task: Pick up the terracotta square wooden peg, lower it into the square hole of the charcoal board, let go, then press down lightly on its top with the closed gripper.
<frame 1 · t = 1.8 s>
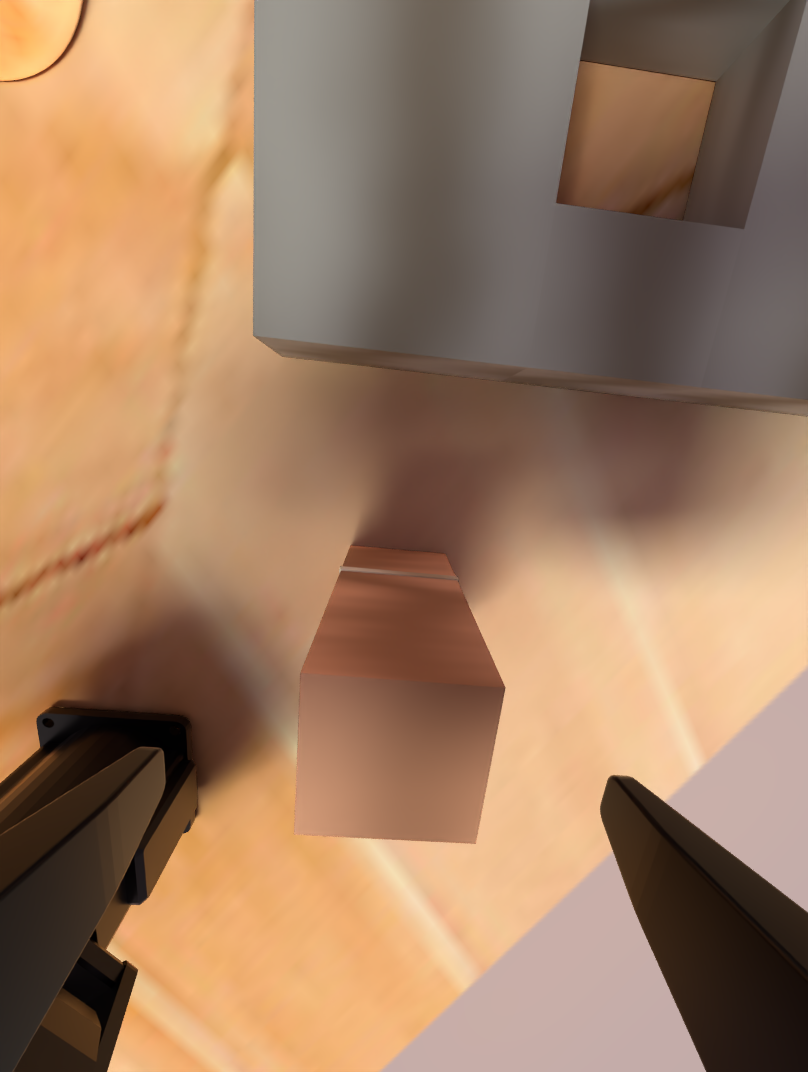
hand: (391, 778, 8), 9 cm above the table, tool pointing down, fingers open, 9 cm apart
board: (614, 170, 13), on the table
peg: (393, 593, 17), on the table
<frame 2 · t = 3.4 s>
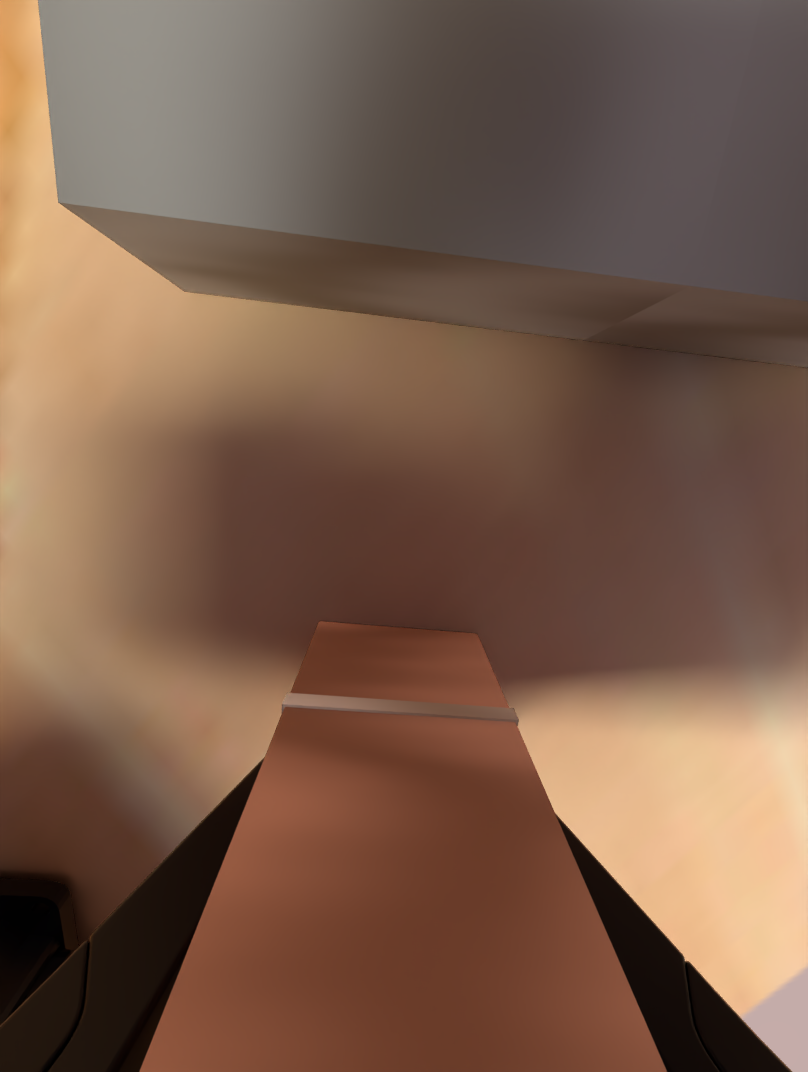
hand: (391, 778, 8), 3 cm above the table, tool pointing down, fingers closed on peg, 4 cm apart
peg: (391, 695, 10), on the table, touching gripper
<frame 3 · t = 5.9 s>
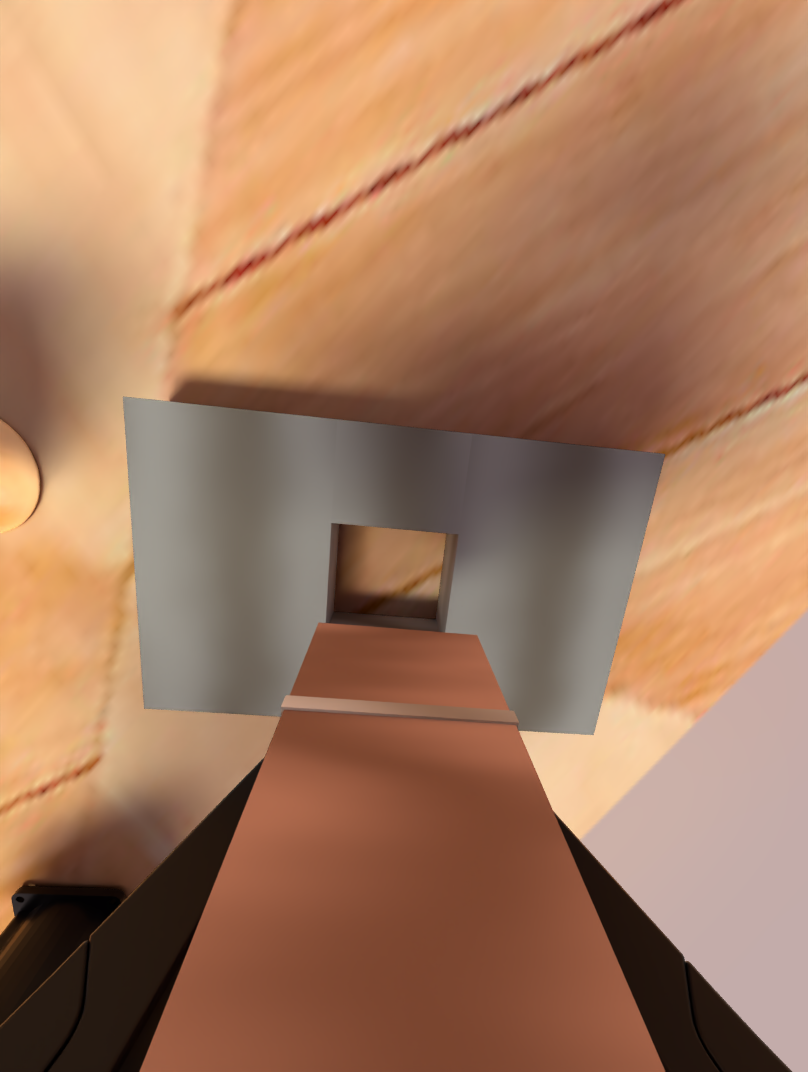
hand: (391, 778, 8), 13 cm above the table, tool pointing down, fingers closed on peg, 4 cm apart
board: (389, 567, 20), on the table
peg: (391, 697, 10), point 10 cm above the table, touching gripper
when the fingers open (4 cm above the table, at t = 8.7 s): peg drops 1 cm, resting in board.
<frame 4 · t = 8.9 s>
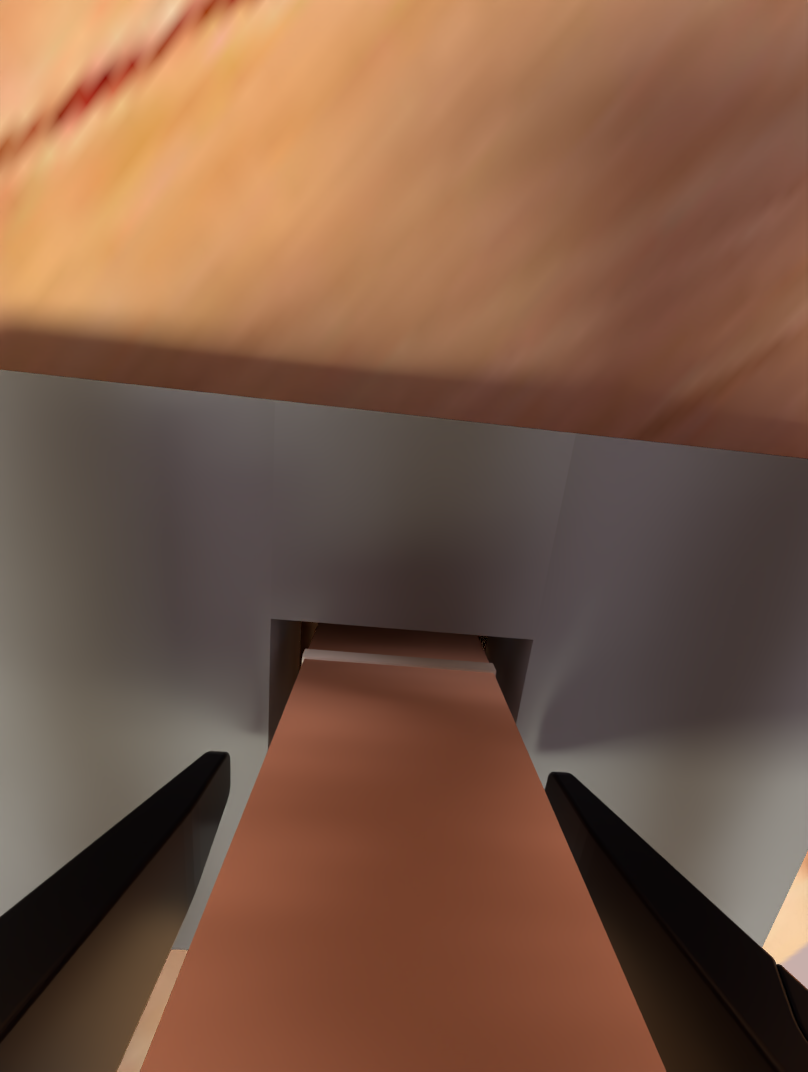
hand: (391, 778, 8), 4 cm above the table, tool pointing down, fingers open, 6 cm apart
board: (391, 663, 12), on the table
peg: (391, 664, 12), resting in board
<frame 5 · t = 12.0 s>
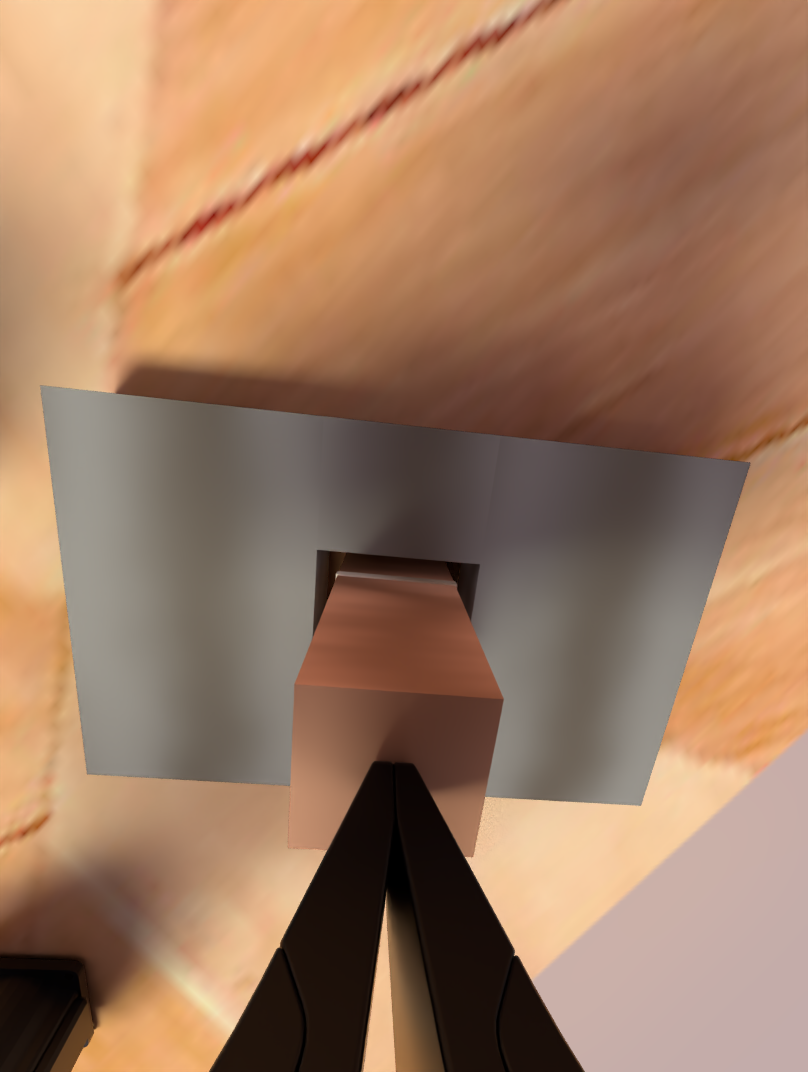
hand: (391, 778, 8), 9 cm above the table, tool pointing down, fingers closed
board: (391, 597, 16), on the table
peg: (391, 597, 16), resting in board
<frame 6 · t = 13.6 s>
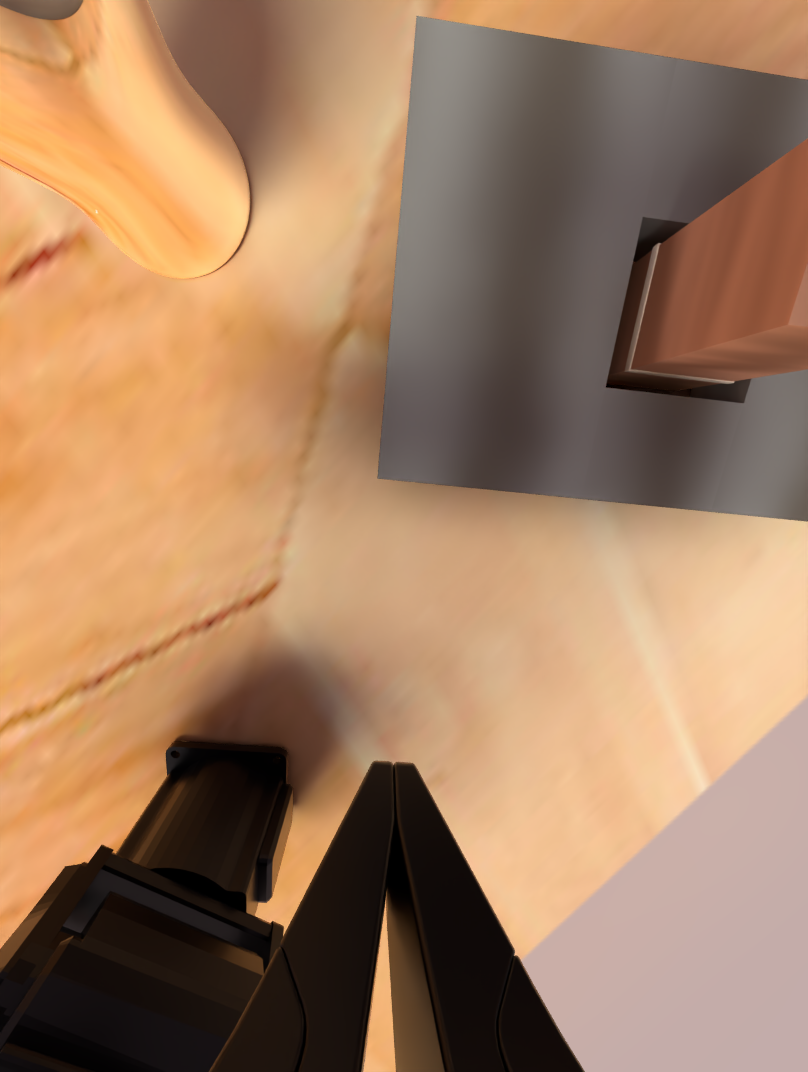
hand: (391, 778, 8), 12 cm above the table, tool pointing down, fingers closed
board: (643, 336, 17), on the table
beer glass: (175, 195, 15), on the table
peg: (642, 337, 17), resting in board
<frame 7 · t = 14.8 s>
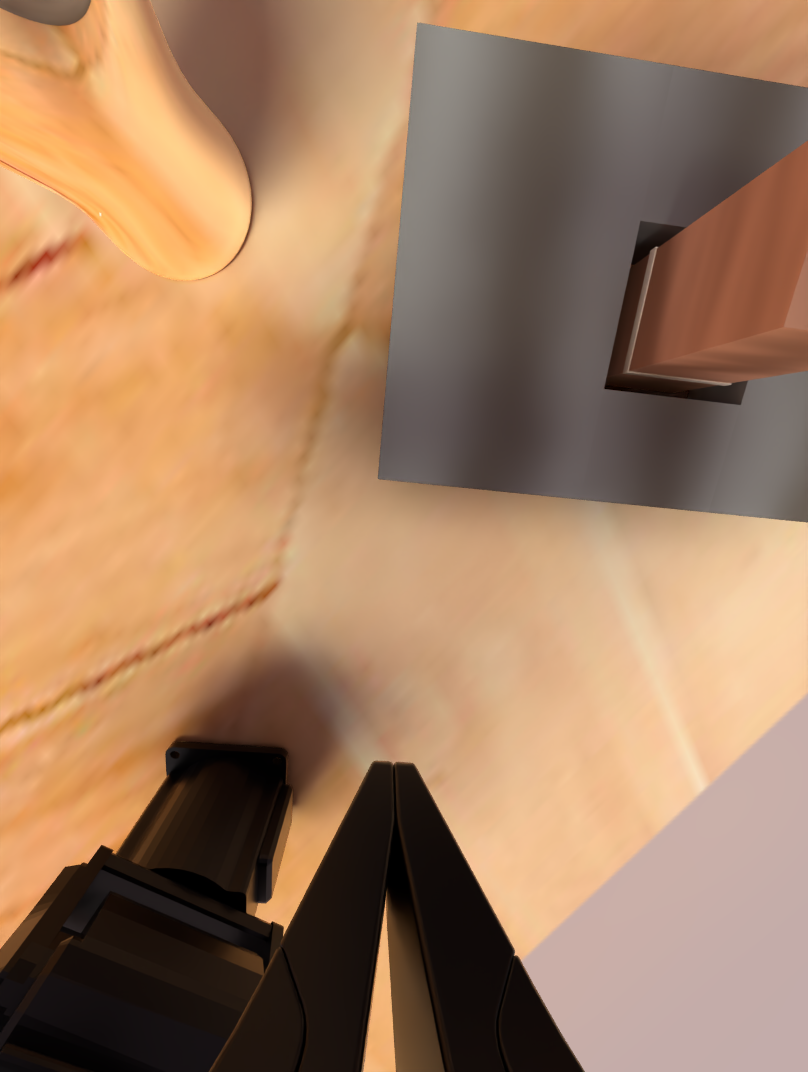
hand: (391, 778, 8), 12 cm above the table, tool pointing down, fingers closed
board: (641, 338, 17), on the table
beer glass: (177, 198, 15), on the table
peg: (640, 340, 17), resting in board
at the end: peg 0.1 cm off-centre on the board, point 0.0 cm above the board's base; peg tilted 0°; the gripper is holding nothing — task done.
